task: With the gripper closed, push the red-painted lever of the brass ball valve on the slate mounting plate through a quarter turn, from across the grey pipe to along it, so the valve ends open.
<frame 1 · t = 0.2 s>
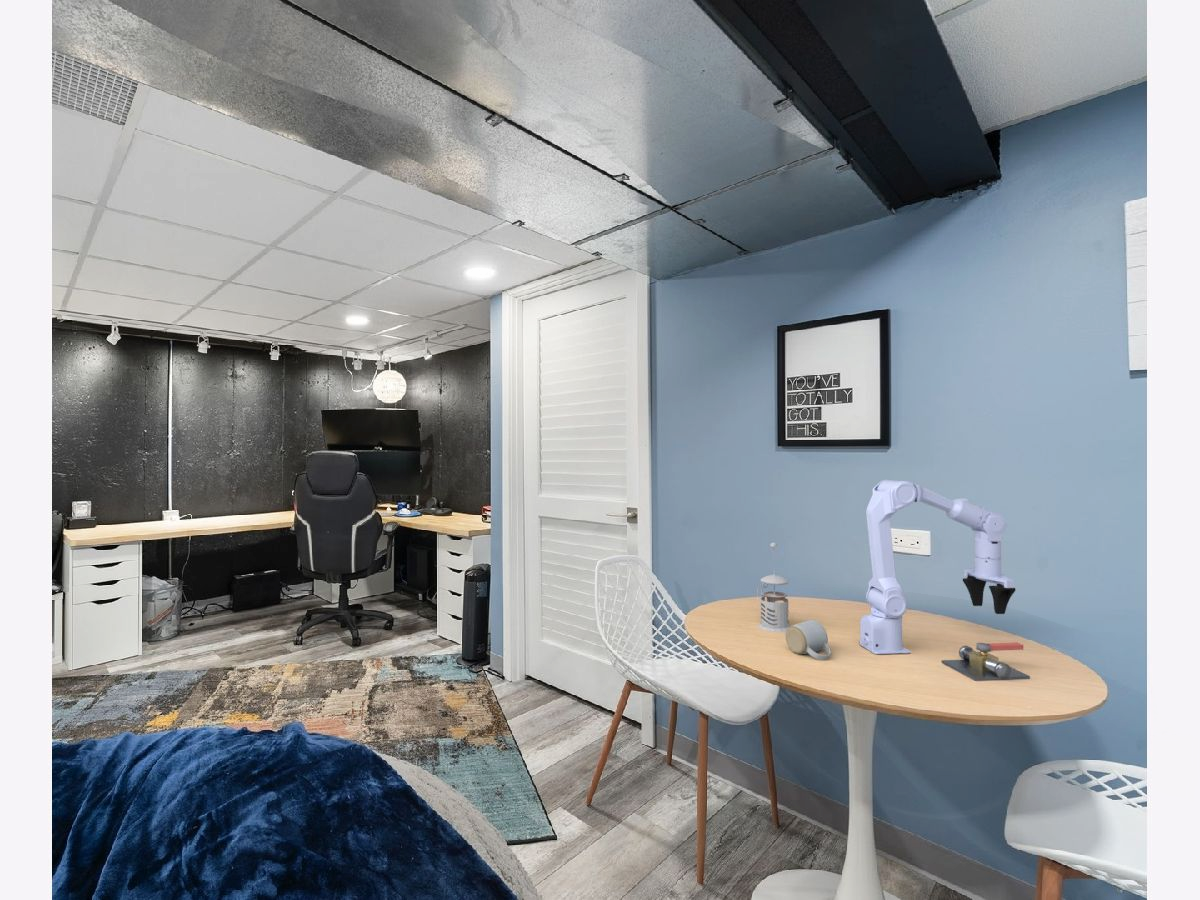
hand: (988, 609, 146), 10 cm above the table, fingers open, 7 cm apart
valve lever: (999, 646, 131), point 5 cm above the table, hinge at 0.0°
ceramic mug: (810, 654, 143), on the table
valve assembly: (984, 670, 131), on the table
french press: (772, 626, 166), on the table
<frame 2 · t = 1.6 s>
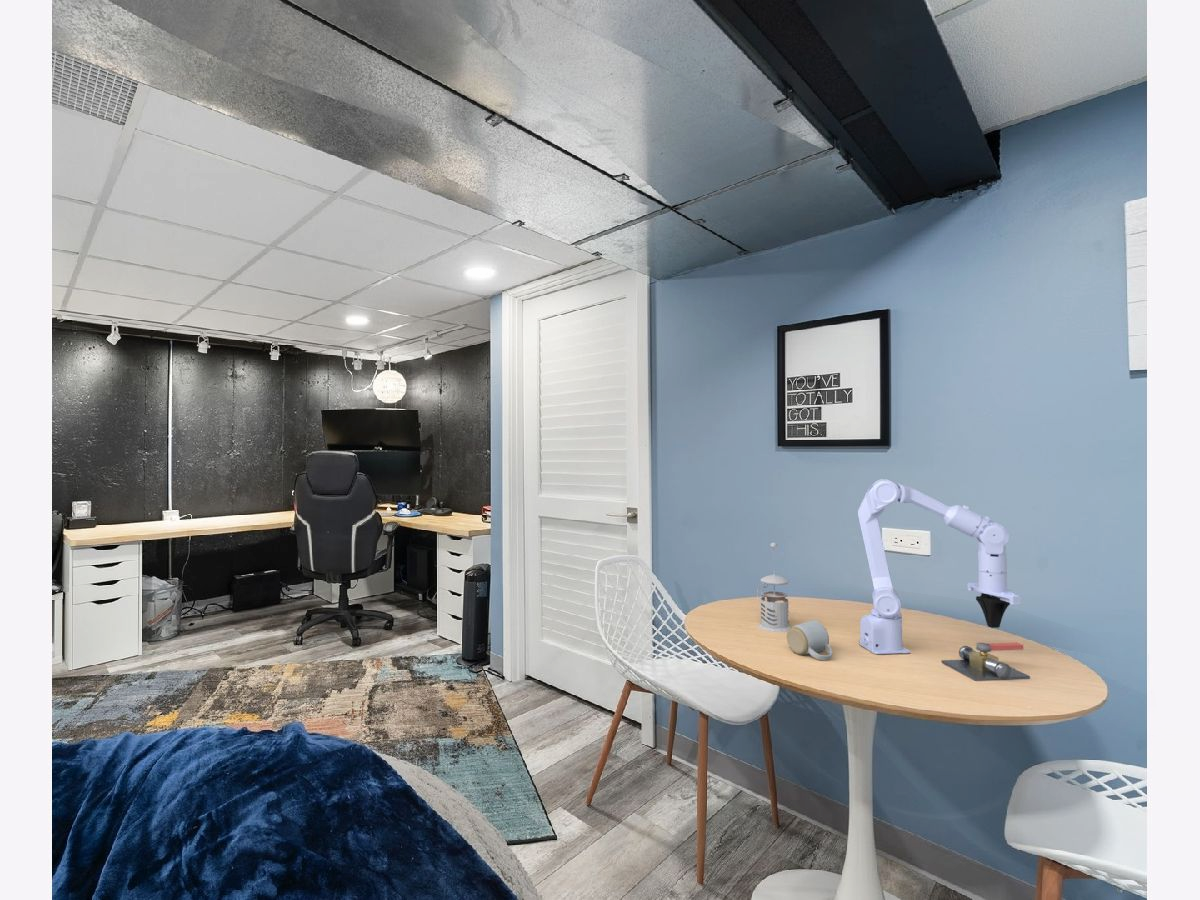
hand: (993, 626, 136), 8 cm above the table, fingers closed
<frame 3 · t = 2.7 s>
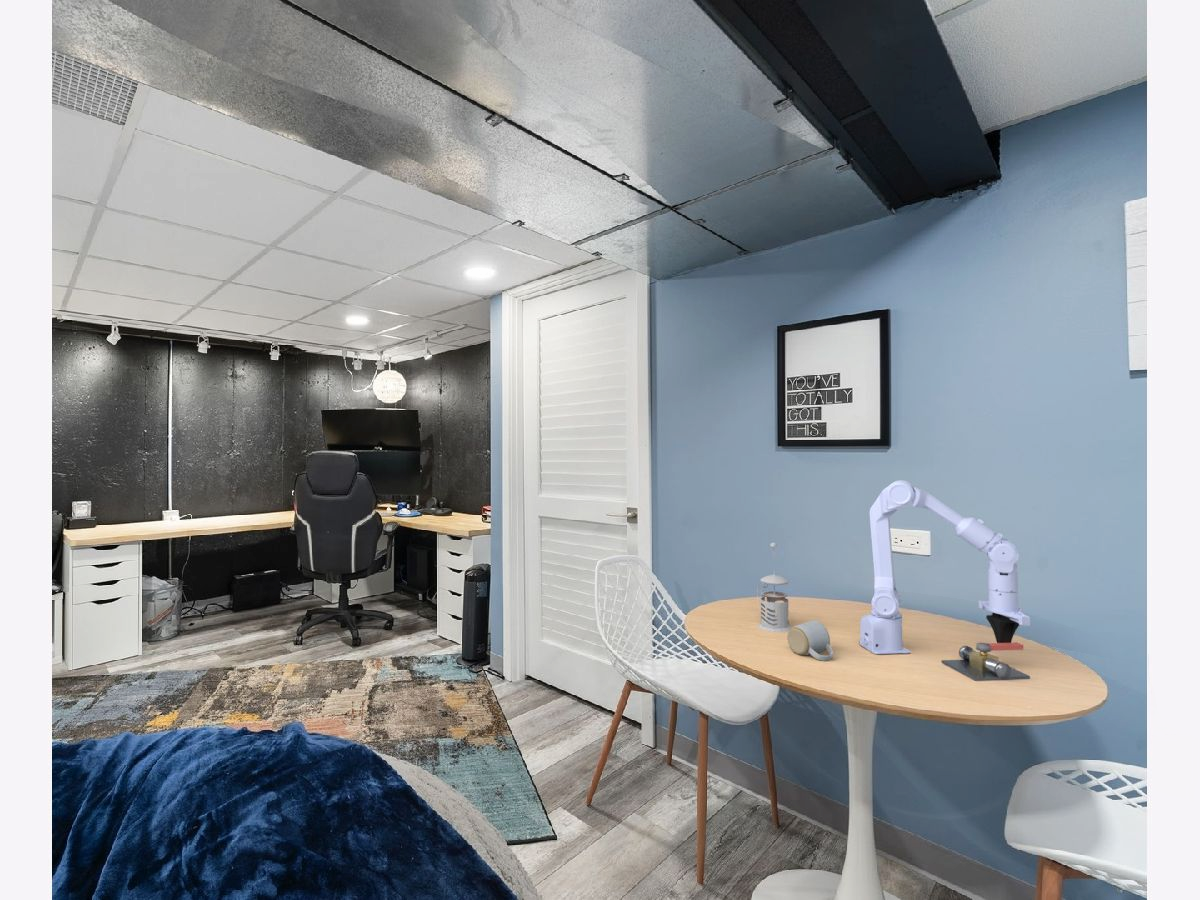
hand: (1003, 647, 133), 5 cm above the table, fingers closed, pressing on valve lever
valve lever: (999, 646, 131), point 5 cm above the table, hinge at 0.0°, touching gripper
everything else where it was.
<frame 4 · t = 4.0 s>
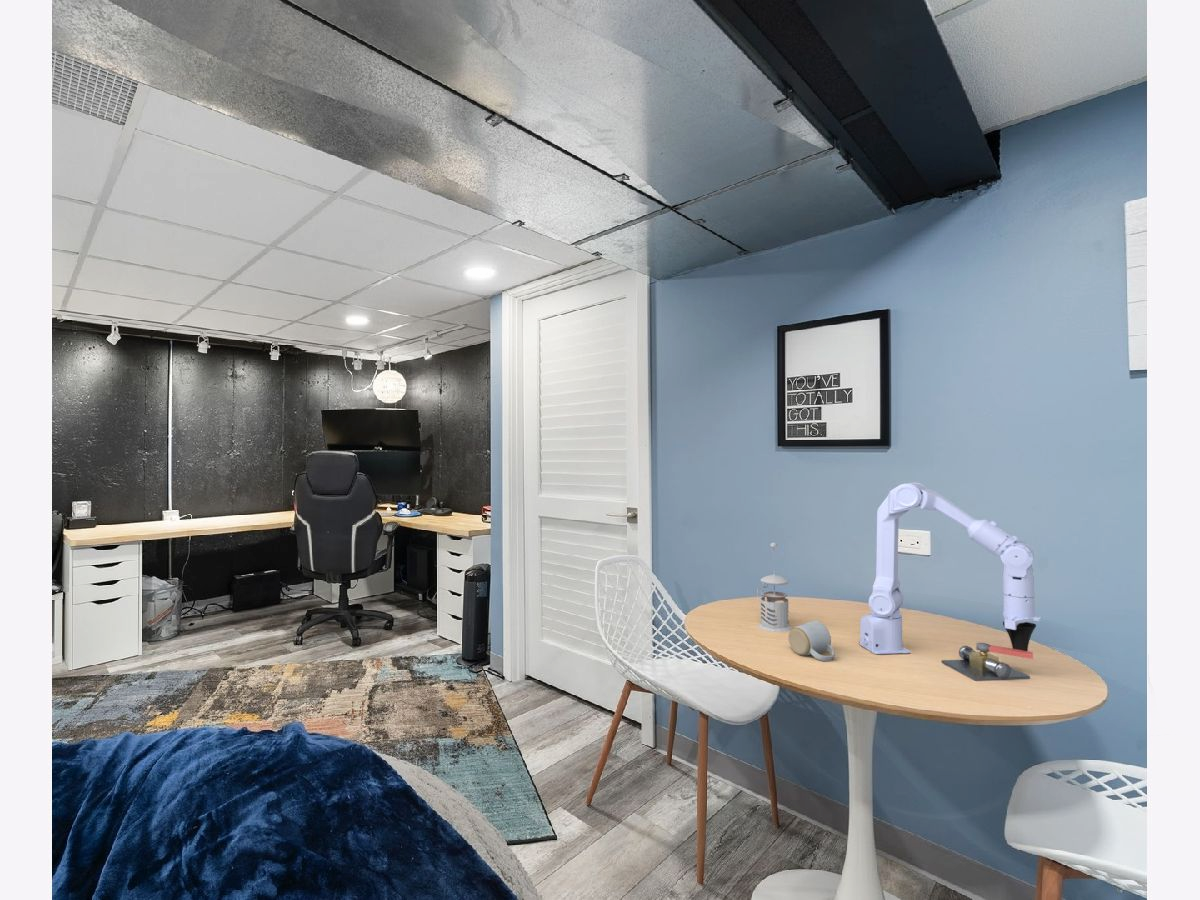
hand: (1020, 654, 128), 5 cm above the table, fingers closed, pressing on valve lever
valve lever: (1003, 650, 128), point 5 cm above the table, hinge at 42.4°, touching gripper
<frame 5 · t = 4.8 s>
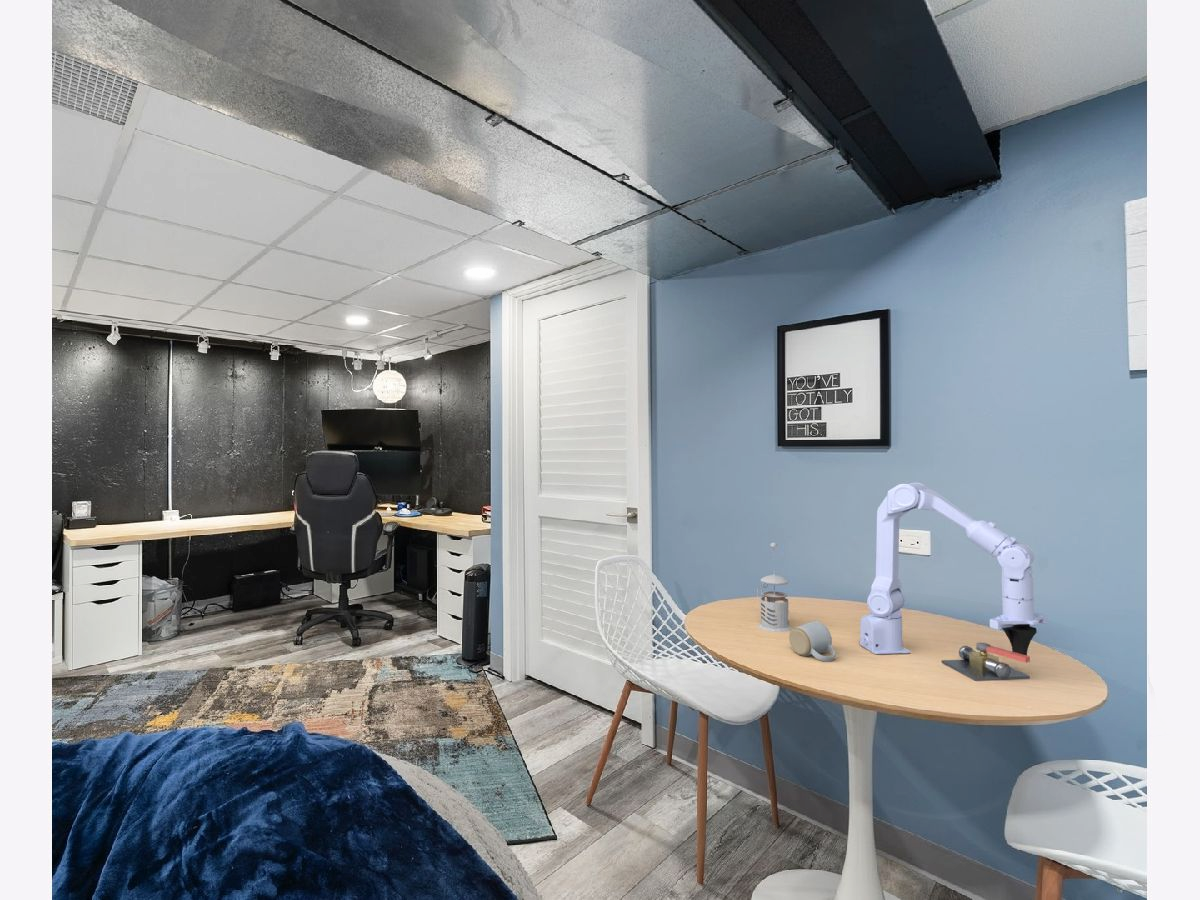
hand: (1019, 658, 125), 5 cm above the table, fingers closed, pressing on valve lever
valve lever: (1001, 652, 127), point 5 cm above the table, hinge at 66.7°, touching gripper
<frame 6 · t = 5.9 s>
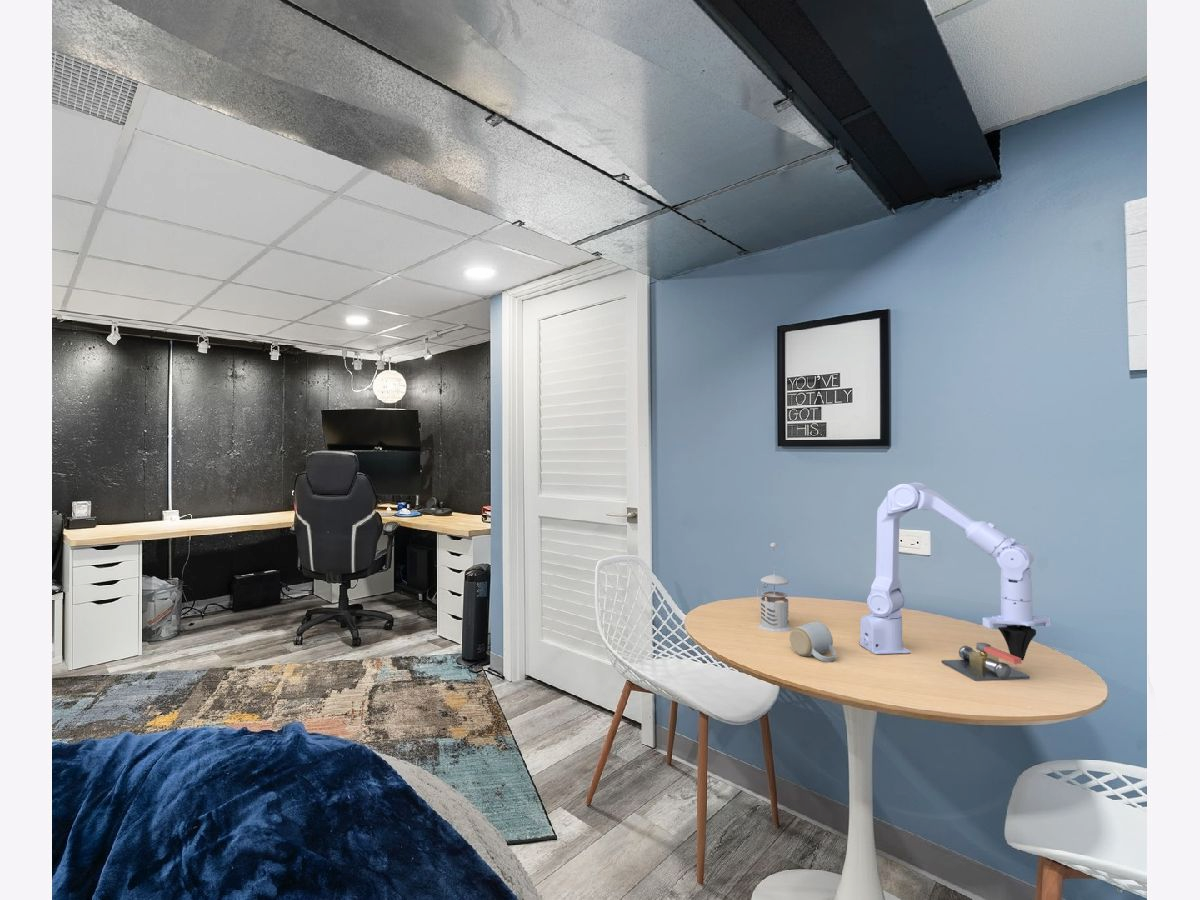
hand: (1017, 658, 125), 5 cm above the table, fingers closed
valve lever: (997, 652, 127), point 5 cm above the table, hinge at 86.1°
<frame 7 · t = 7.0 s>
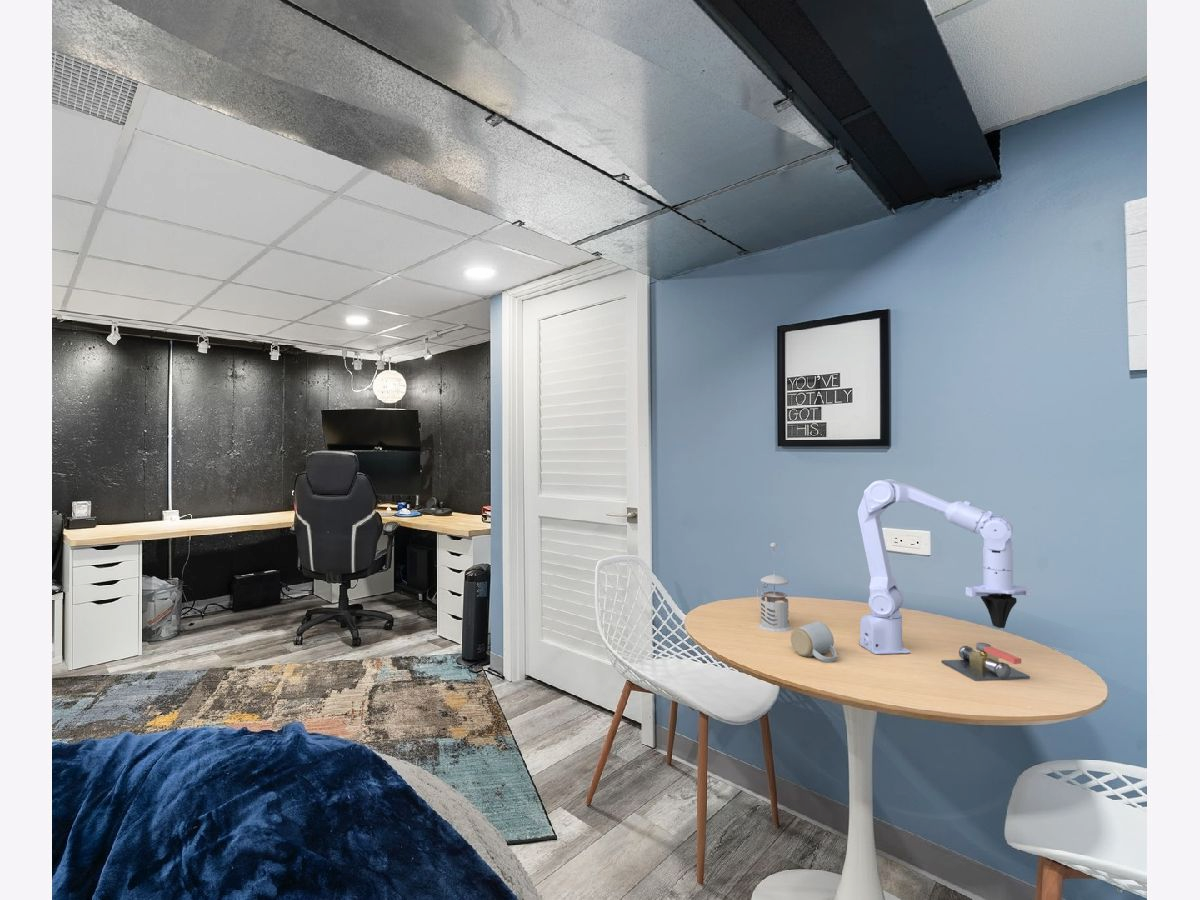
hand: (998, 626, 130), 10 cm above the table, fingers closed
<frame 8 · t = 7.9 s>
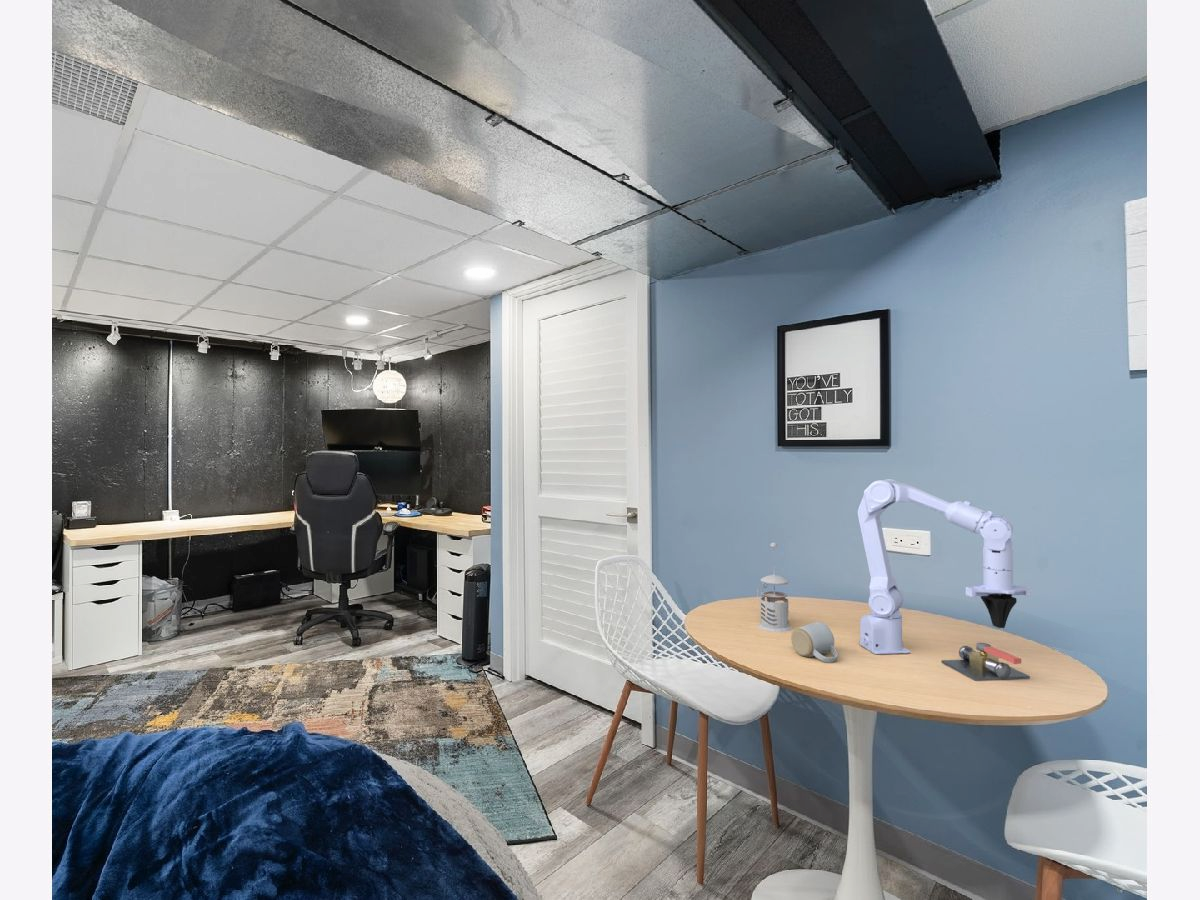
hand: (998, 626, 130), 10 cm above the table, fingers closed
at the end: valve lever at +86° (first picture: +0°) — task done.
